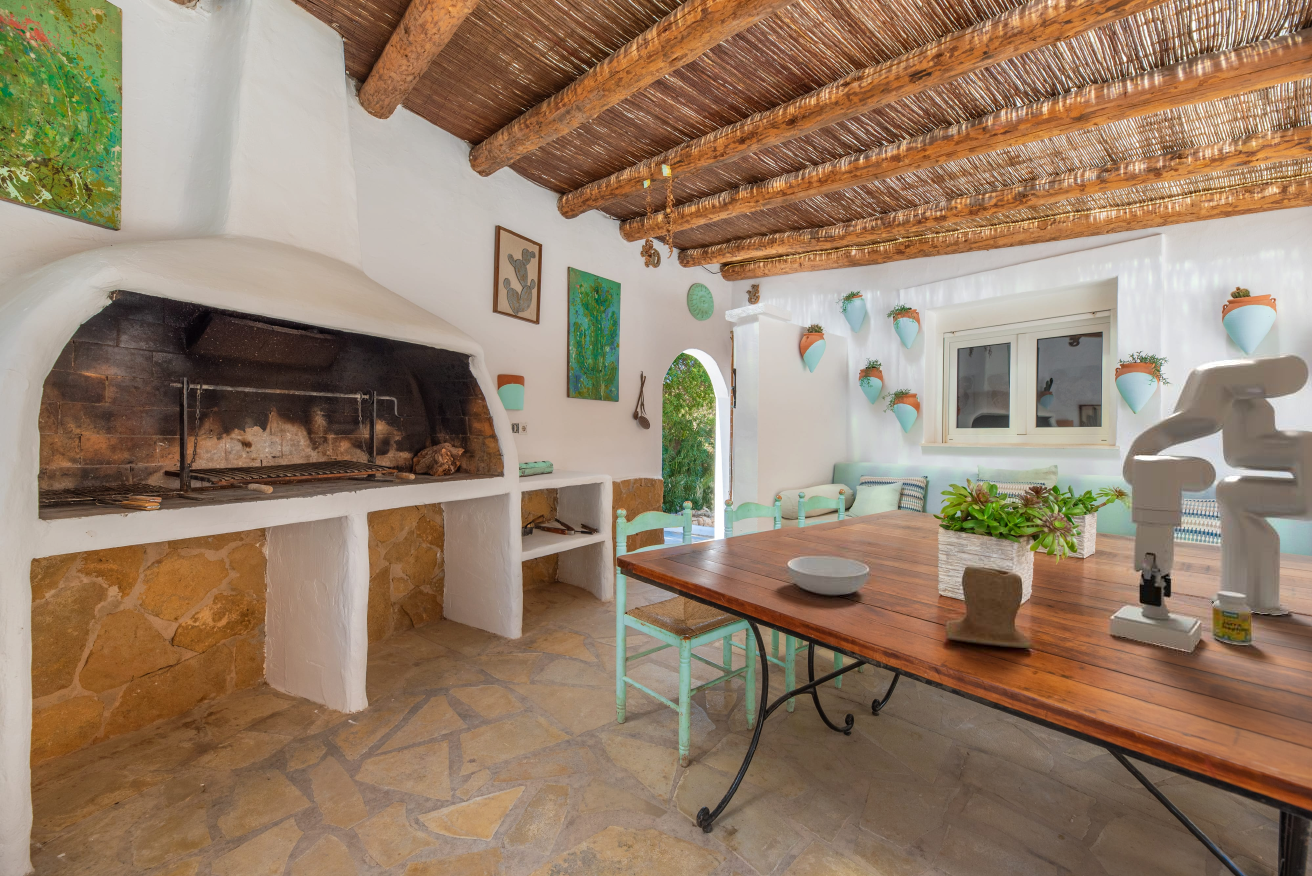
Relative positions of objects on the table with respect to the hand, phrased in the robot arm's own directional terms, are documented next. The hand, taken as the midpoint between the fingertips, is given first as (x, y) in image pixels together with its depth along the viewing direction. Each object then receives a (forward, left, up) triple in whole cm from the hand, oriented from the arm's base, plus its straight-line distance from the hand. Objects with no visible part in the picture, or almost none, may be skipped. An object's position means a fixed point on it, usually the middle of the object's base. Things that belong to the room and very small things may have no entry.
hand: (1155, 600), depth 110 cm
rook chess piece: (0, 0, -4) cm, 4 cm away
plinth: (0, 0, -7) cm, 7 cm away
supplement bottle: (-9, +10, -8) cm, 15 cm away
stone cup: (+30, -21, -8) cm, 37 cm away
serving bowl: (+25, -61, -8) cm, 66 cm away
